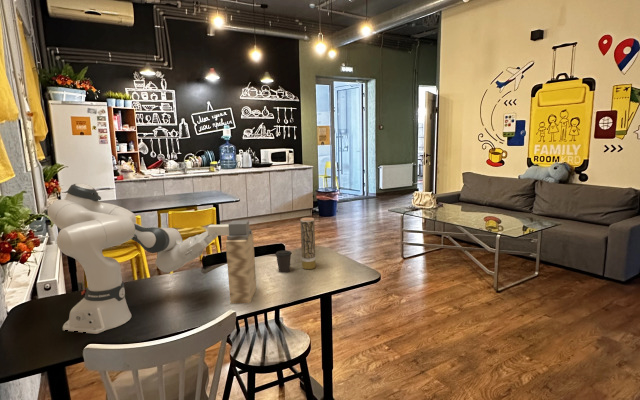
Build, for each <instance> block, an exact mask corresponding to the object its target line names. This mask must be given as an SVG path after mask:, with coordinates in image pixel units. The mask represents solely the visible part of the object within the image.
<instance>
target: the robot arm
mask: <svg viewBox="0 0 640 400" xmlns="http://www.w3.org/2000/svg"><path fill="white" fill-rule="evenodd" d="M66 192H67V193H66V195H65V198H64V199H57V200H55V201H53V202H51V204H50V205H49V206H48V207H47V216H48V217H49V219H50V221H51V222H52V223H53V224H54V225H55V226H56V227H57V229H58V231H59V232H58V234H57V236H56V245H57V248H58V249H59V251H60V252H61V253H62V254H64V255H66V256H68V257H70V258H73V259H75V260H76V261H77V262H78V263H79V264H80V265H81V267H82V268H83V270H84V274H85V277H86V279H85V280H86V282H87V286H86V288H84V289H83V290H82V291H81V292H80V293H81V296H82V295H84V294H85V295H84V297H83V298H82V299H80V301H79V302H77V303H76V304H75V305H74V306H73V307H72V308H71V310H70V311H69V317H68V320H67V321H65V323H64V324H63V325H62V331H65V330H68V331H67V332H74V331H78V332H77V333H83V332H86V333H85V334H94V335H95V334H100V333H103V332H104V331H108V330H111V329H114V328H117V327H120V326H122V325H124V324H126V323H127V322H128V321H130V320H131V318H132V317H133V316H132V313H131V311H130V309H129V307H128V304H127V300H126V290H125V284H124V280H123V278H122V269H121V264H120V262H119V261H118V260H117V259H115V258H113V257H111V256H109V257H108V256H104V254H103V250H105V249H109V248H113V247H116V246H120V245H123V244H124V243H127V242H129V241H130V240H133V241H134V242H136V243H137V244H138V245H139V246H141V247H142V249H143V250H144V251H146V252H148V253H150V254H157V255H156V258H155V265H156V267H157V268H158V269H159V270H160V271H162V272H163V273H172V272H175V271H177V270H179V269H180V268H183V267H184V266H185V265H186V264H187V263H189V262H190V263H191V262H192V261H194V260H196V259H197V258H198V257H200V256H201V255H202V254H203V252H204V250H205V249H206V248H207V247H208V246H209V245H210V244H211V243H212V242H213V241H214V240H215V239H217V238H218V236H219V235H217V233H214V234H212V235H211V236H208V230H206V231H204V232H202V233H201V234H195V235H194V236H190V237H188V238H186V239H184V240H183V237H182V235H181V233H180V231H179V230H178V229H176V228H174V227H153V226H152V227H151V226H149V227H145V226H142V225H140V224H138V223H137V218H136V217H137V216H136V214H135V213H134V212H132V211H130V210H129V209H127V208H124V207H122V206H119V205H117V204H113V203H108V202H101V200H102V197H101V196H100V195H99V192H98V191H97V189H95V187H92V186H91V185H89V184H86V183H73V184H71V185H70V186H69V187H68V189H67V191H66Z"/></svg>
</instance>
